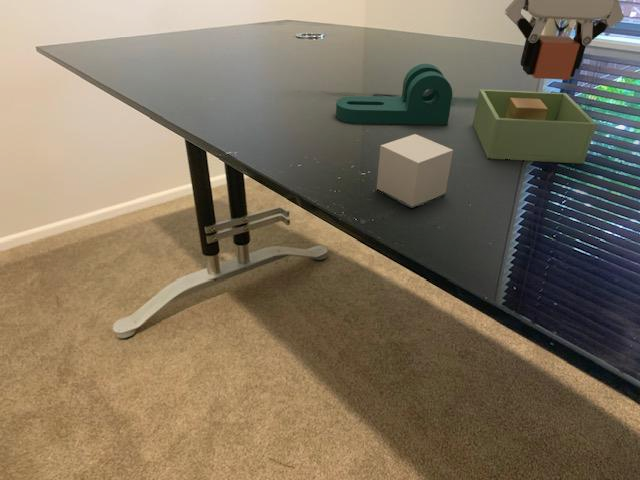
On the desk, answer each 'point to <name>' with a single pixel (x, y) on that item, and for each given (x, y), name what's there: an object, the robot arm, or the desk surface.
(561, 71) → the terracotta block
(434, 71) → the bracket
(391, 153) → the white cube
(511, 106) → the maple block
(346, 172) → the desk surface
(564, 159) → the basket
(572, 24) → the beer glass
